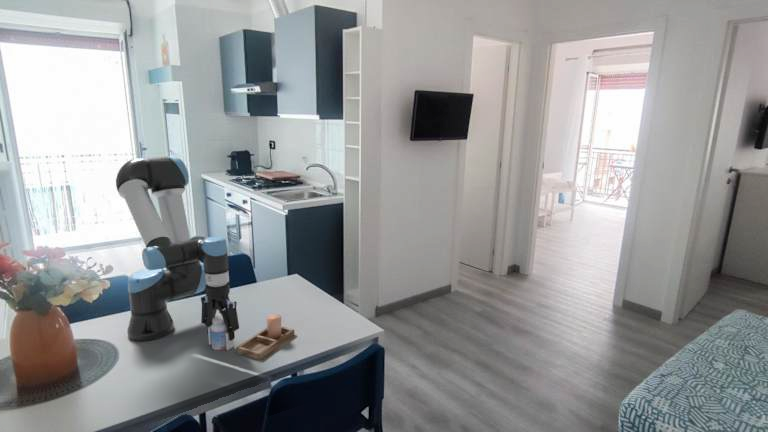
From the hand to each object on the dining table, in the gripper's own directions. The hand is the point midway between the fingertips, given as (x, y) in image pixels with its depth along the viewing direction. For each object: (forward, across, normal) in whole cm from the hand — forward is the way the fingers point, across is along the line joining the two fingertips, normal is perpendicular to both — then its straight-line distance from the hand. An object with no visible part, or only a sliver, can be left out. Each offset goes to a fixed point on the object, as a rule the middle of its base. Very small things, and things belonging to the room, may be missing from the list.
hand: (221, 345), depth 150 cm
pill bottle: (+1, 0, 0) cm, 1 cm away
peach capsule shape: (0, +13, +12) cm, 18 cm away
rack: (+1, +13, +8) cm, 15 cm away
